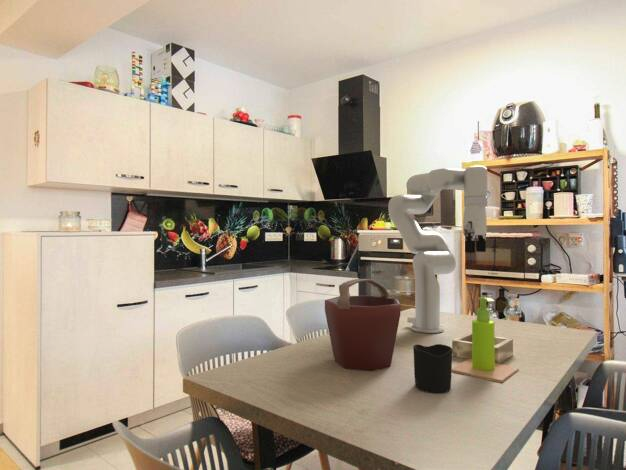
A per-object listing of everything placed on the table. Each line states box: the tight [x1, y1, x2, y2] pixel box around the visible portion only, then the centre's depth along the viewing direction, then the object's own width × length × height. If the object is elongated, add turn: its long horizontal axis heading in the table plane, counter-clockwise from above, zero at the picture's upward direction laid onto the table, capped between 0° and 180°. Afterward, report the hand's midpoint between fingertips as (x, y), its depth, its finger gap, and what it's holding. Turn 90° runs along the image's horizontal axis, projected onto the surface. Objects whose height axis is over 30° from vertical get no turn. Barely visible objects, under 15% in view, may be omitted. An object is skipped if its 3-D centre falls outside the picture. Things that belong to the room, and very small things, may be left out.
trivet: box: [451, 359, 520, 383], centre depth 121 cm, size 14×14×1 cm
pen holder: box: [412, 343, 453, 394], centre depth 108 cm, size 9×9×10 cm
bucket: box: [324, 278, 401, 372], centre depth 130 cm, size 24×22×25 cm
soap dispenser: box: [471, 296, 496, 371], centre depth 122 cm, size 6×7×20 cm
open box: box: [451, 332, 514, 364], centre depth 137 cm, size 14×14×5 cm
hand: (475, 252), depth 148 cm, fingers open, 9 cm apart
